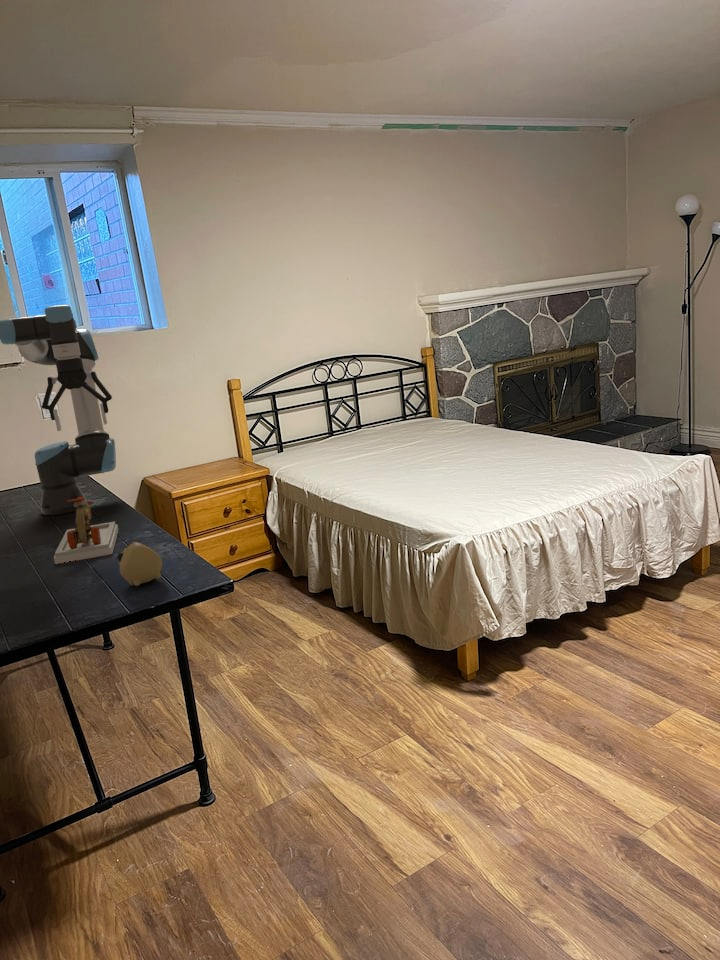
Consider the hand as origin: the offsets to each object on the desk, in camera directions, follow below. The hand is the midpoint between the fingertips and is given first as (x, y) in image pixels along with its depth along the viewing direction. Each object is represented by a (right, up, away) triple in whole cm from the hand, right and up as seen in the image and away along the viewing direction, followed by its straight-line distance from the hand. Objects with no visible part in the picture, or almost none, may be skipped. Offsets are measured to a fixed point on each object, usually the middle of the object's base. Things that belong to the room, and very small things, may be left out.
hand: (82, 427), depth 217 cm
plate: (+7, -36, -13) cm, 39 cm away
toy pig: (+33, -42, -46) cm, 70 cm away
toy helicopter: (+7, -34, -14) cm, 37 cm away
